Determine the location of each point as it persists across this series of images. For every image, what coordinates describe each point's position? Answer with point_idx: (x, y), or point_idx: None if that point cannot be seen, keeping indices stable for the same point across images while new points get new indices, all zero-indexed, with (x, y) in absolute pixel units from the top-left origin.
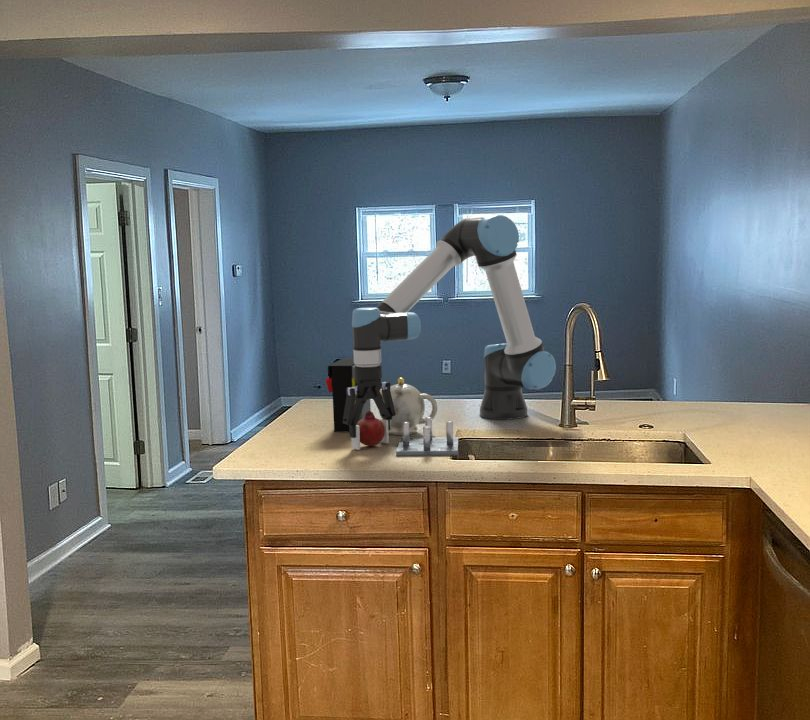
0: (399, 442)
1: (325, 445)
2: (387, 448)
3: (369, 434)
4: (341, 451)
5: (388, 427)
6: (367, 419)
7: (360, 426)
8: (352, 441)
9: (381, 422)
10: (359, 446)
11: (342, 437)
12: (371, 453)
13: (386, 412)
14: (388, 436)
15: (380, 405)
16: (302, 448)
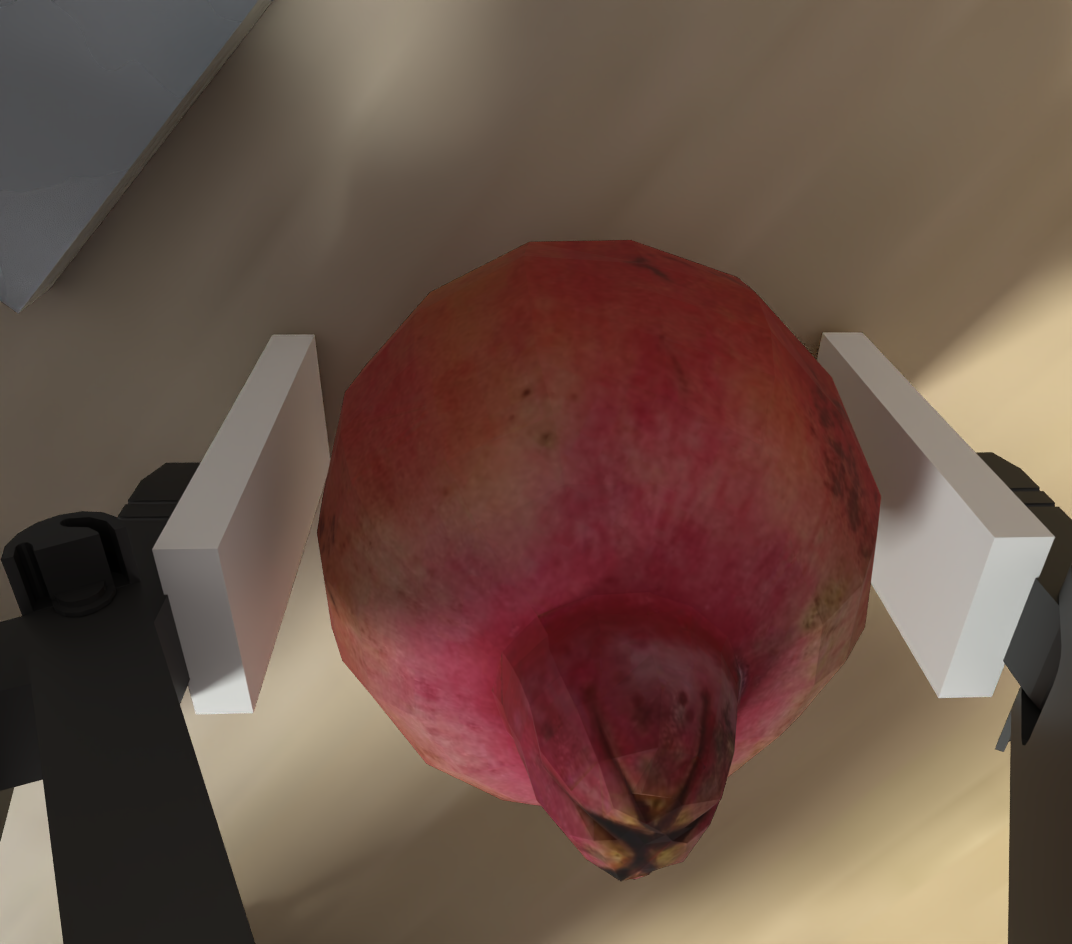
0: (225, 35)
1: (846, 759)
2: (468, 109)
3: (788, 333)
4: None
5: (173, 491)
6: (741, 644)
7: (871, 577)
8: None
9: (403, 488)
10: (848, 351)
11: (492, 878)
12: (878, 31)
13: (118, 694)
14: (250, 378)
15: (248, 935)
16: None
